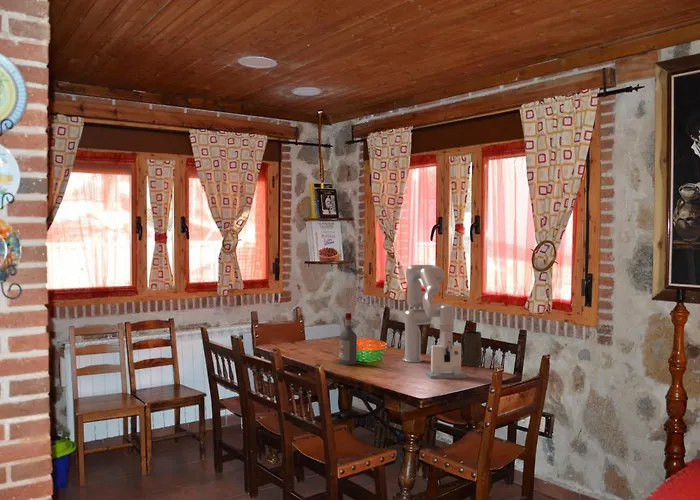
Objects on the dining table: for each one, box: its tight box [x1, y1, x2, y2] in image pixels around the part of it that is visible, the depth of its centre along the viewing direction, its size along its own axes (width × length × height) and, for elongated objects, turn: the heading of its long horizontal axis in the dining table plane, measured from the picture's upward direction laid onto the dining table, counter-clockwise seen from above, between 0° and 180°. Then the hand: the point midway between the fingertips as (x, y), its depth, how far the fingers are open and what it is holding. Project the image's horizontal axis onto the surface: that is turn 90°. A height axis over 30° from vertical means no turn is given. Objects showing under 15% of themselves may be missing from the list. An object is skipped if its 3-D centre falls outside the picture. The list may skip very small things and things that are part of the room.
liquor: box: [338, 312, 358, 366], centre depth 360 cm, size 9×9×30 cm
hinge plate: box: [425, 367, 467, 379], centre depth 330 cm, size 10×20×6 cm, turn 98°
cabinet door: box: [430, 344, 462, 372], centre depth 329 cm, size 4×16×14 cm, turn 98°
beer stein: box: [460, 330, 483, 367], centre depth 364 cm, size 15×11×20 cm
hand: (446, 361), depth 330 cm, fingers closed on cabinet door, 3 cm apart
